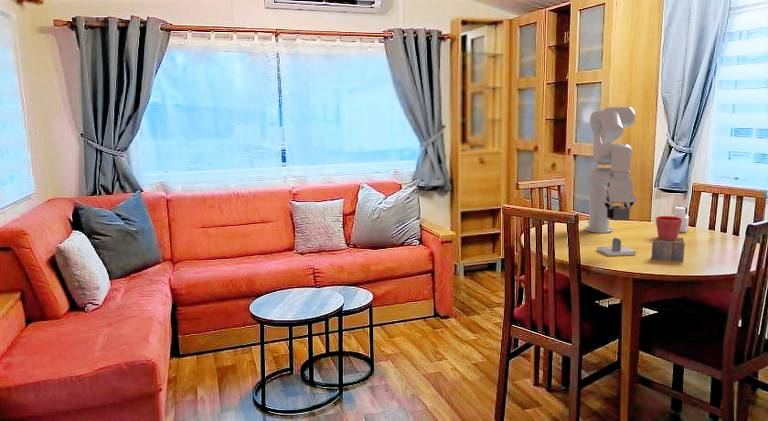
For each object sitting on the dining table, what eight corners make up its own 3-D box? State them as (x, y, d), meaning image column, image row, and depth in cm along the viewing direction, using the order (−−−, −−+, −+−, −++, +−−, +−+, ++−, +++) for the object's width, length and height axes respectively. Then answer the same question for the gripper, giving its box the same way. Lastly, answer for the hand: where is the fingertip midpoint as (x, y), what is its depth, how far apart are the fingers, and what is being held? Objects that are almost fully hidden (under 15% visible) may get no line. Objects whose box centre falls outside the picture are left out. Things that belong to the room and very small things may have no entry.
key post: (597, 250, 247) (597, 236, 246) (623, 249, 248) (624, 235, 247) (608, 256, 237) (609, 241, 236) (635, 254, 238) (636, 240, 237)
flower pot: (675, 242, 260) (676, 221, 259) (650, 238, 268) (652, 218, 267) (684, 238, 267) (686, 218, 266) (660, 235, 275) (661, 215, 274)
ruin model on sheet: (681, 260, 230) (683, 236, 229) (683, 262, 228) (685, 238, 226) (651, 258, 234) (652, 235, 232) (652, 260, 231) (653, 236, 229)
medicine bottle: (672, 228, 290) (673, 205, 288) (687, 229, 286) (689, 206, 284) (669, 230, 284) (671, 207, 282) (685, 232, 280) (687, 208, 278)
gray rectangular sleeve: (606, 217, 244) (607, 205, 243) (620, 217, 244) (620, 204, 244) (615, 220, 237) (615, 207, 236) (628, 220, 237) (629, 207, 236)
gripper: (604, 176, 233) (602, 220, 236) (644, 175, 235) (642, 218, 238) (596, 174, 240) (594, 217, 243) (634, 173, 242) (632, 215, 245)
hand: (617, 217), depth 240 cm, fingers closed on gray rectangular sleeve, 6 cm apart
